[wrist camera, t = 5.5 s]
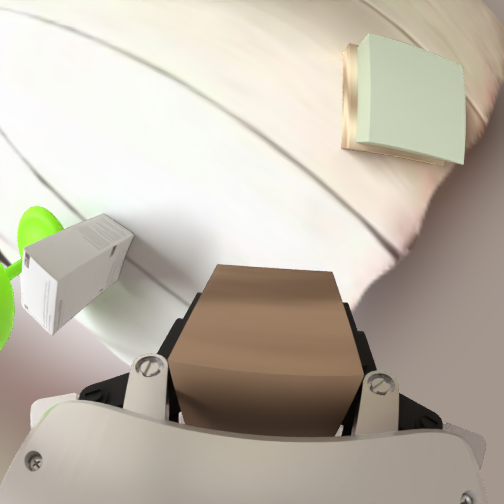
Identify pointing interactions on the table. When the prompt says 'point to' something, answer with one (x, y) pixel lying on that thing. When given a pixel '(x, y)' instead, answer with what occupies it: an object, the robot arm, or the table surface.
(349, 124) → the block bottom
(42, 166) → the table surface
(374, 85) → the block top
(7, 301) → the wineglass
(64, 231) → the skincare box
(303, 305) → the walnut block
